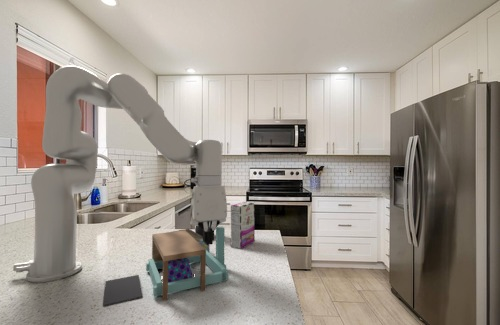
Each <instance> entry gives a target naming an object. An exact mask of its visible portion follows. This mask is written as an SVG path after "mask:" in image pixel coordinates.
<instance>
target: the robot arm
mask: <svg viewBox="0 0 500 325" xmlns="http://www.w3.org/2000/svg"><path fill="white" fill-rule="evenodd" d="M79 100H82V101H85V102H86V103H89V104H91V105H93V106H96V107H99V108H106V109H114V110H115V109H116V110H124V111H125V113H127V114H128V116H130V118H131V119H132V120H133V121H134V122H135V123H136V124H137V125H138V126H139V128H140V130H141V131H142V133H143V134H144V136H145V137H146V139H147V140H148V141H149V142H150V143H151V145H153V147H154V148H155V149H156V150H157V151H158V152H159V153H160V154H161V155H162V156H163V158H165V159H166V160H167V161H169V162H170V163H172V164H175V165H182V166H188V165H195V171H196V172H195V176H194V177H191V179H190V182H191V183H193V184H195V186H193V189H192V194H191V201H190V222H189V224H190V225H191V226H195V227H196V226H199V227H200V228H201V229H202V230H203V242H204V243H205V244H206V245H209V246H210V245H213V244H214V241H215V231H216V227H219V225H220V224H222V223H225V222H226V221H227V217H228V201H227V194H226V187H225V186H224V185H222V181H223V180H222V179H223V178H222V177H223V176H222V160H223V156H222V155H223V154H222V149H223V148H222V147H223V146H222V142H221V141H219V140H215V139H201V140H198V141H191V140H189V139H186V137H184V135H182V134H181V133H180V132H179V131H178V130H177V128H176V127H175V126H174V125H173V124H172V123H171V121H170V120H169V119H168V118H167V117H166V115H165V111H164V109H163V107H161V105H160V104H159V103H158V102H157V101H156V100H155V99H154V98H153V97H152V96H151V95H150V94H149V92H148V90H147V88H145V86H143V85H142V84H141V83H140V82H139V81H138V80H137V79H136V78H134V77H133V76H131V75H129V74H127V73H115V74H113V75H111V76H110V78H109V79H108V81H105V80H104V79H103V78H101V77H99V76H98V75H96V74H95V73H93V72H92V71H90V70H87V68H86V69H85V68H84V67H80V66H78V65H77V66H76V65H64V66H62V67H59V68H58V69H57V70H55V71H54V72H53V73H52V74H51V75H50V76H49V78H48V80H47V83H46V86H45V116H44V121H43V122H44V124H43V131H42V142H41V143H42V144H41V146H42V151H43V153H44V154H45V155H46V156H47V157H49V158H53V159H57V160H66V162H65V163H49V164H45V165H42V166H40V167H39V168H37V169H36V170H35V171H34V173H32V176H31V180H30V181H31V182H30V184H31V185H30V186H31V189H32V190H31V191H32V194H33V198H34V240H33V241H34V244H33V245H34V246H33V247H34V249H33V254H34V255H33V259H31V260H29V261H27V262H19V263H18V262H16V263H14V264H13V268H12V269H13V272H16V273H23V272H26V275H25V280H26V281H28V282H30V283H46V282H51V281H52V282H53V281H57V280H61V279H64V278H67V277H71V276H73V275H75V274H76V273H78V272H80V270H82V268H83V263H82V262H81V261H79V260H77V228H78V227H77V226H78V224H77V220H78V218H77V217H78V211H77V210H78V208H77V203H76V201H75V198H74V195H75V194H82V193H85V192H88V190H90V189H91V188H92V186H93V185H94V183H95V180H96V179H95V178H96V170H97V160H98V153H99V150H98V143H97V141H96V138H94V137H93V135H91V134H90V133H89V132H88V133H87V132H85V131H83V130H82V120H83V115H82V114H83V113H82V109H81V106H80V103H79ZM207 221H210V223H209V229H208V224H207Z"/></svg>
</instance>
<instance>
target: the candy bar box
mask: <svg viewBox="0 0 500 325" xmlns="http://www.w3.org/2000/svg"><path fill="white" fill-rule="evenodd" d="M255 237H256V236H255V202H253V201H243V202H239V203H234V204H232V205H230V246H231V248H234V249H239V250H242V249H244V248H246V247H247V246H249V245H251V244H253V243H254V242H255V241H256V240H255V239H256V238H255Z"/></svg>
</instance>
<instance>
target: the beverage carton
mask: <svg viewBox="0 0 500 325" xmlns="http://www.w3.org/2000/svg"><path fill="white" fill-rule="evenodd" d="M184 230H185V231H186V232H188V233H189V234H190V235H191V236H192V237H193V238H194V239H195V240H196V241H197V242H198V243H199V244H201V245H202V246H203V247H204V248H205V249H206V250H207V251H208V252H209V253H210V244H209V245H206V244H205V243H204V242H203V237H202V236H201V235H199V234H197V233H195V230H194V231H193V230H192V229H190V228H186V229H180V230H179V229H178V231H184ZM175 231H176V230H174V231H172V232H175Z"/></svg>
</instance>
